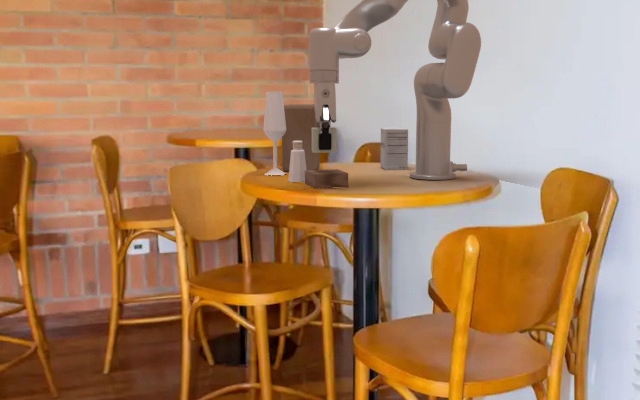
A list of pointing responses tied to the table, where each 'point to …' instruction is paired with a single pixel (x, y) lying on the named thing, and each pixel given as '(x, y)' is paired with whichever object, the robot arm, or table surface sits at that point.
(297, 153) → the pepper shaker
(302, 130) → the block
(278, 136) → the champagne flute
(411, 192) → the table surface
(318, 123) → the robot arm
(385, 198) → the table surface
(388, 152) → the supplement box
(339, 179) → the walnut block
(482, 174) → the table surface
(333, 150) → the sage block
